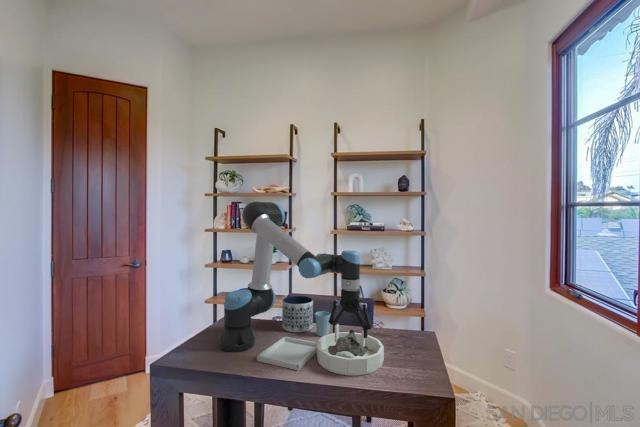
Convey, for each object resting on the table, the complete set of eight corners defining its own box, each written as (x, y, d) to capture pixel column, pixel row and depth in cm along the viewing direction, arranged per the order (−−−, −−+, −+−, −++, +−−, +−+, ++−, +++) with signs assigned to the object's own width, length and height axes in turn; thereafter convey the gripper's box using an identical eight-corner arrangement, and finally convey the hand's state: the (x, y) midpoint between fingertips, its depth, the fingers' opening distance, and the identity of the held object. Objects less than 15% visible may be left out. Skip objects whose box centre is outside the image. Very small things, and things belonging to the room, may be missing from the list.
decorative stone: (326, 356, 121) (328, 329, 124) (328, 352, 130) (330, 327, 133) (368, 360, 119) (369, 333, 122) (367, 356, 128) (368, 330, 131)
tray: (256, 360, 124) (256, 355, 124) (284, 340, 144) (284, 336, 144) (298, 370, 117) (298, 365, 117) (321, 347, 137) (321, 343, 137)
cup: (333, 336, 150) (333, 314, 150) (318, 339, 147) (318, 316, 147) (326, 331, 157) (326, 310, 157) (312, 333, 154) (312, 312, 154)
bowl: (306, 366, 119) (306, 351, 119) (331, 341, 144) (331, 328, 144) (373, 382, 109) (373, 364, 109) (388, 352, 133) (388, 338, 133)
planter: (317, 324, 166) (317, 297, 166) (304, 335, 151) (304, 305, 151) (291, 320, 172) (291, 294, 172) (276, 329, 158) (276, 301, 158)
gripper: (320, 287, 128) (320, 341, 127) (376, 294, 118) (375, 352, 118) (327, 284, 135) (326, 335, 134) (380, 289, 125) (379, 344, 125)
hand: (349, 343), depth 126 cm, fingers closed on decorative stone, 11 cm apart
